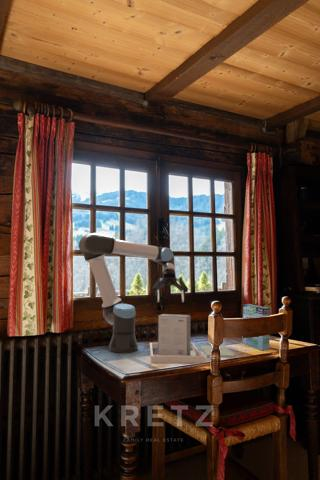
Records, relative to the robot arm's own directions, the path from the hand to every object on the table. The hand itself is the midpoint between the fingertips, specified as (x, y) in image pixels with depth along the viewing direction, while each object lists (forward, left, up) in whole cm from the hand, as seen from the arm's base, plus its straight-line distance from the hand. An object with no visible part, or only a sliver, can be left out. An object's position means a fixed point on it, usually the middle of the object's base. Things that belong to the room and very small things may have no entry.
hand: (170, 300), depth 198 cm
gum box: (+49, +5, -26) cm, 56 cm away
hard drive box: (+1, -14, -26) cm, 30 cm away
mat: (+24, -8, -26) cm, 36 cm away
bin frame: (+1, -14, -26) cm, 29 cm away
